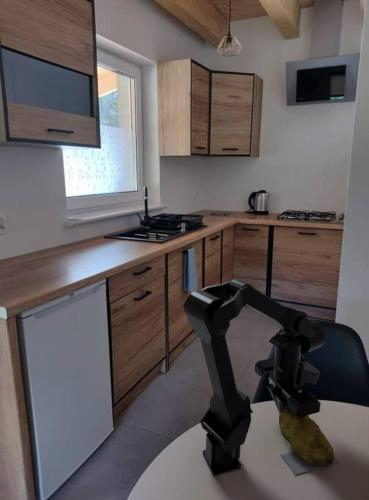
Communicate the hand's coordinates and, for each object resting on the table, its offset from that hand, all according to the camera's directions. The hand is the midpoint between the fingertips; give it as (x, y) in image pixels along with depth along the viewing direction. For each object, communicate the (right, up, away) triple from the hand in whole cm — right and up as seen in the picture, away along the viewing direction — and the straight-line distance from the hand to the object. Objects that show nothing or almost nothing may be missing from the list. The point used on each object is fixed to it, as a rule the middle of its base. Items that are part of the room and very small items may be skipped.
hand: (282, 414), depth 86 cm
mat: (+3, -5, -10) cm, 11 cm away
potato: (+3, -5, -7) cm, 9 cm away
